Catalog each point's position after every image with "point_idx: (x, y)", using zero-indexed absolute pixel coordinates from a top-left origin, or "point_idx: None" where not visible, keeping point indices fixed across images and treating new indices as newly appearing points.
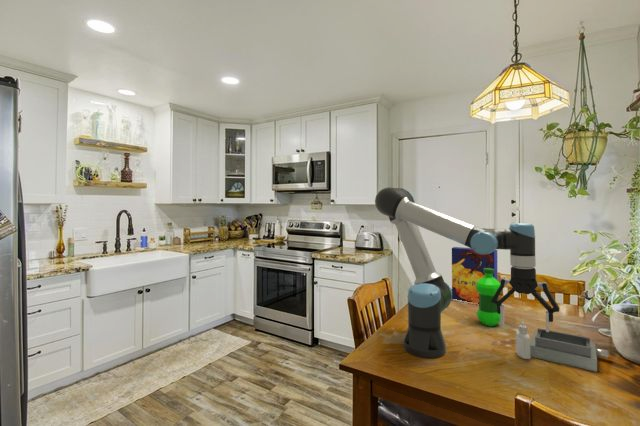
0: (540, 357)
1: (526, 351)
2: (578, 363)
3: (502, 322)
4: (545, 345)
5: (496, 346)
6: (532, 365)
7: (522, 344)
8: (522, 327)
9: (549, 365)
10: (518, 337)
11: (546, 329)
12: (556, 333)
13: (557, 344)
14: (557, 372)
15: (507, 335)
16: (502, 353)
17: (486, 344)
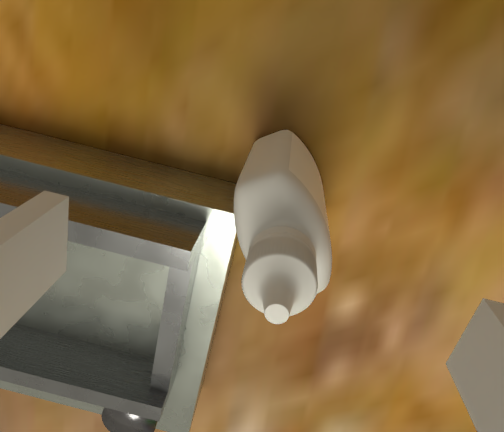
0: (194, 176)
1: (273, 143)
2: (4, 134)
3: (497, 312)
4: (141, 214)
5: (423, 266)
6: (254, 52)
7: (298, 162)
8: (289, 255)
9: (158, 97)
10: (322, 214)
11: (51, 204)
12: (58, 375)
13: None
14: (123, 5)
15: (324, 422)
16: (410, 173)
17: (481, 277)
